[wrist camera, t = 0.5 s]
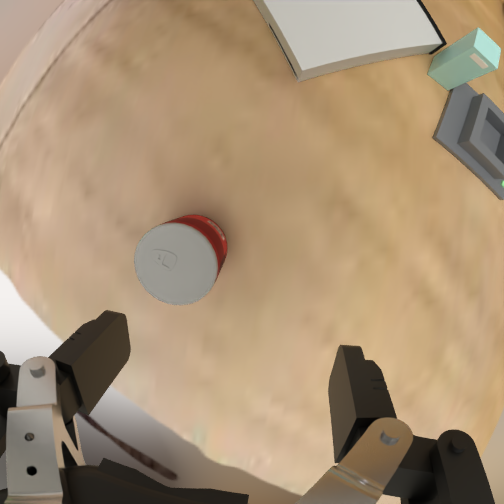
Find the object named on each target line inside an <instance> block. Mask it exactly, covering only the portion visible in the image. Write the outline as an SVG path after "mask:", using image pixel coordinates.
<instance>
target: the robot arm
mask: <svg viewBox="0 0 504 504" xmlns="http://www.w3.org/2000/svg"><path fill="white" fill-rule="evenodd" d="M130 350H131V347H130V340H129V333H128V326H127V319H126V316H125V314H123V313H118V312H113V311H109V310H106V311H104V312H103V313H102V314H101V315H100V316H99V317H98V318H97V319H96V320H92V321H89V322H87V323H85V324H83V325H82V326H81V327H80V328H79V329H78V330H77V331H76V332H75V333H73V334H72V335H71V336H70V337H69V339H67V340H66V341H65V342H64V343H63V344H62V345H61V346H60V347H59V348H58V349H57V350H56V351H55V352H53V353H52V354H51V355H50V356H49V357H48V358H47V357H42V356H38V357H33V358H30V359H28V360H26V361H25V362H24V363H23V364H22V365H21V366H20V365H14V364H8V363H7V360H6V358H5V355H4V353H3V352H1V351H0V457H1V456H2V454H3V453H4V452H5V450H6V463H7V464H6V465H7V486H8V488H6V489H2V490H0V504H248V497H249V495H247V494H240V493H232V492H227V491H220V490H215V489H190V488H170V487H167V486H164V485H163V484H161V483H159V482H157V481H155V480H153V479H151V478H150V477H148V476H146V475H144V474H143V473H141V472H139V471H138V470H136V469H133V468H130V467H127V466H124V465H121V464H119V463H116V462H113V461H111V460H108V459H105V458H103V460H102V462H101V463H100V465H99V466H95V465H85V462H84V459H83V456H82V451H81V446H80V441H79V435H78V429H77V424H76V419H75V416H74V415H75V414H76V412H77V411H79V412H82V413H84V414H87V415H89V414H90V412H91V411H92V410H93V408H94V407H95V406H96V404H97V403H98V401H99V400H100V398H101V397H102V396H103V394H104V393H105V391H106V390H107V389H108V387H109V386H110V385H111V383H112V382H113V380H114V379H115V378H116V376H117V375H118V373H119V372H120V371H121V369H122V368H123V367H124V365H125V364H126V362H127V361H128V359H129V356H130ZM328 394H329V404H330V413H331V424H332V435H333V446H334V459H335V463H339V464H338V465H337V466H333V467H331V468H330V469H329V470H328V471H327V472H326V473H325V474H324V475H323V476H322V477H321V478H320V479H319V481H318V482H317V483H316V484H315V485H314V486H313V487H312V488H311V489H310V490H309V491H308V492H307V493H306V494H304V495H303V496H302V497H301V498H300V499H299V500H298V501H297V502H296V503H295V504H376V502H377V501H378V500H379V498H380V497H381V495H382V494H384V495H390V496H395V497H400V498H401V504H495V502H494V499H493V495H492V492H491V489H490V485H489V482H488V479H487V476H486V473H485V470H484V467H483V465H482V462H481V459H480V456H479V453H478V451H477V448H476V445H475V443H474V441H473V439H472V438H471V437H470V436H469V435H468V434H466V433H465V432H463V431H460V430H448V431H445V432H444V433H442V434H441V435H440V437H439V438H438V440H435V439H429V438H423V437H418V436H415V435H413V434H412V431H411V429H410V428H409V426H408V425H407V424H405V423H404V422H402V421H401V420H398V419H397V417H396V413H395V410H394V407H393V404H392V401H391V398H390V395H389V392H388V390H387V385H386V382H385V381H384V377H383V374H382V371H381V369H380V368H379V367H378V366H377V364H376V363H375V362H374V361H373V360H365V358H364V355H363V352H362V348H361V347H360V346H349V345H340V346H339V348H338V351H337V355H336V358H335V362H334V365H333V369H332V372H331V376H330V380H329V388H328Z"/></svg>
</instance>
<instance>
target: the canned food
mask: <svg viewBox="0 0 504 504" xmlns="http://www.w3.org/2000/svg"><path fill="white" fill-rule="evenodd" d="M226 255H227V242H226V238H225V236H224V234H223V232H222V230H221V229H220V227H219V226H218V225H217V224H216V223H214V222H213V221H212V220H210V219H208V218H206V217H203V216H199V215H188V216H183V217H180V218H177V219H174V220H171V221H168V222H165V223H163V224H160V225H158V226H156V227H154V228H152V229H151V230H150V231H148V232H147V233H146V234H145V235H144V236H143V237H142V239H141V240H140V241H139V243H138V245H137V248H136V252H135V258H134V264H135V270H136V273H137V276H138V279H139V281H140V282H141V284H142V286H143V287H144V288H145V289H146V291H147V292H149V293H150V294H151V295H152V296H153V297H155V298H156V299H158V300H160V301H162V302H165V303H167V304H172V305H187V304H191V303H194V302H196V301H198V300H200V299H201V298H203V297H204V296H205V295H206V294H207V293H208V292H209V291H210V290H211V288H212V287H213V285H214V283H215V281H216V279H217V277H218V275H219V272H220V270H221V268H222V265H223V263H224V261H225V258H226Z"/></svg>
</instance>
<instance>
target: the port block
mask: <svg viewBox="0 0 504 504" xmlns="http://www.w3.org/2000/svg"><path fill="white" fill-rule="evenodd" d="M433 139H434V140H436V141H437V142H438V143H439V144H441V145H442V146H443V147H444V148H445V149H447V150H448V151H449V152H450V153H451V154H452V155H454V156H455V157H456V158H457V159H458V160H459V161H460V162H462V163H463V164H464V165H465V166H466V167H467V168H468V169H469V170H470V171H471V172H472V173H474V174H475V175H476V176H477V177H478V178H479V179H480V180H481V181H482V182H483V183H484V184H485V185H486V186H487V187H488V188H489V189H490V190H491V191H492V192H493V193H494V194H495V195H496V196H497V197H498V198H499V199H500V200H504V113H503V112H502V111H501V110H500V109H499V108H498V107H497V106H496V105H495V104H494V103H493V102H492V101H491V100H490V99H489V98H488V97H487V96H486V95H485V94H484V93H483V94H480V95H479V94H478V93H477V92H475V91H474V90H473V89H472V88H471V87H470V86H469V85H468V84H467V83H464V84H462V85H459V86H457V87H455V88H453V89H451V90H450V93H449V96H448V99H447V101H446V104H445V107H444V110H443V112H442V115H441V118H440V120H439V123H438V125H437V128H436V130H435V133H434V135H433Z"/></svg>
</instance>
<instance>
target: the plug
mask: <svg viewBox="0 0 504 504" xmlns="http://www.w3.org/2000/svg"><path fill="white" fill-rule="evenodd" d="M500 53H501V48H500V47H499V46H498V45H497V44H496V43H495V42H494V41H493V40H492V39H491V38H489V37H488V36H487V35H486V34H485V33H484V32H483V31H482V30H481V29H480V28H479V27H478V28H476V29H475V30H473V31H472V32H470V33H469V34H467V35H466V36H464V37H462V38H461V39H459V40H458V41H456V42H455V43H453V44H452V45H450V46H449V47H447V48H446V49H444V50H443V51H441V52H440V53H439V54H437V55H436V56H434V58H433V61H432V63H431V66H430V68H429V71H428V75H429V76H430V77H431V78H433V79H434V80H435V81H437V82H438V83H439V84H440V85H441V86H443V87H444V88H445V89H446V90H451V89H453V88H455V87H457V86H459V85H462V84H464V83H466V82H468V81H471V80H473V79H475V78H477V77H480V76H482V75H484V74H487V73H489V72H491V71H494V70H496V69H497V68H498V63H499V58H500Z"/></svg>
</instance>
